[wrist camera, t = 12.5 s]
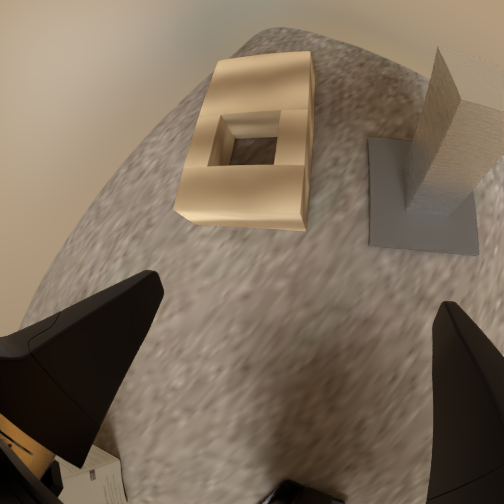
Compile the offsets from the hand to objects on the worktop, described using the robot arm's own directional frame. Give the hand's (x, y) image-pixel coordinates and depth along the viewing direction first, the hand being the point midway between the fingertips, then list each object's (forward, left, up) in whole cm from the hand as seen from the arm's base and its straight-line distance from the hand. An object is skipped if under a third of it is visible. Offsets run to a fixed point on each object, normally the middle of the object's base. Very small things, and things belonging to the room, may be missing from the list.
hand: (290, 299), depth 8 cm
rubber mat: (+13, -4, -14) cm, 19 cm away
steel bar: (+13, -4, -13) cm, 19 cm away
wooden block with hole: (+12, +11, -14) cm, 21 cm away
